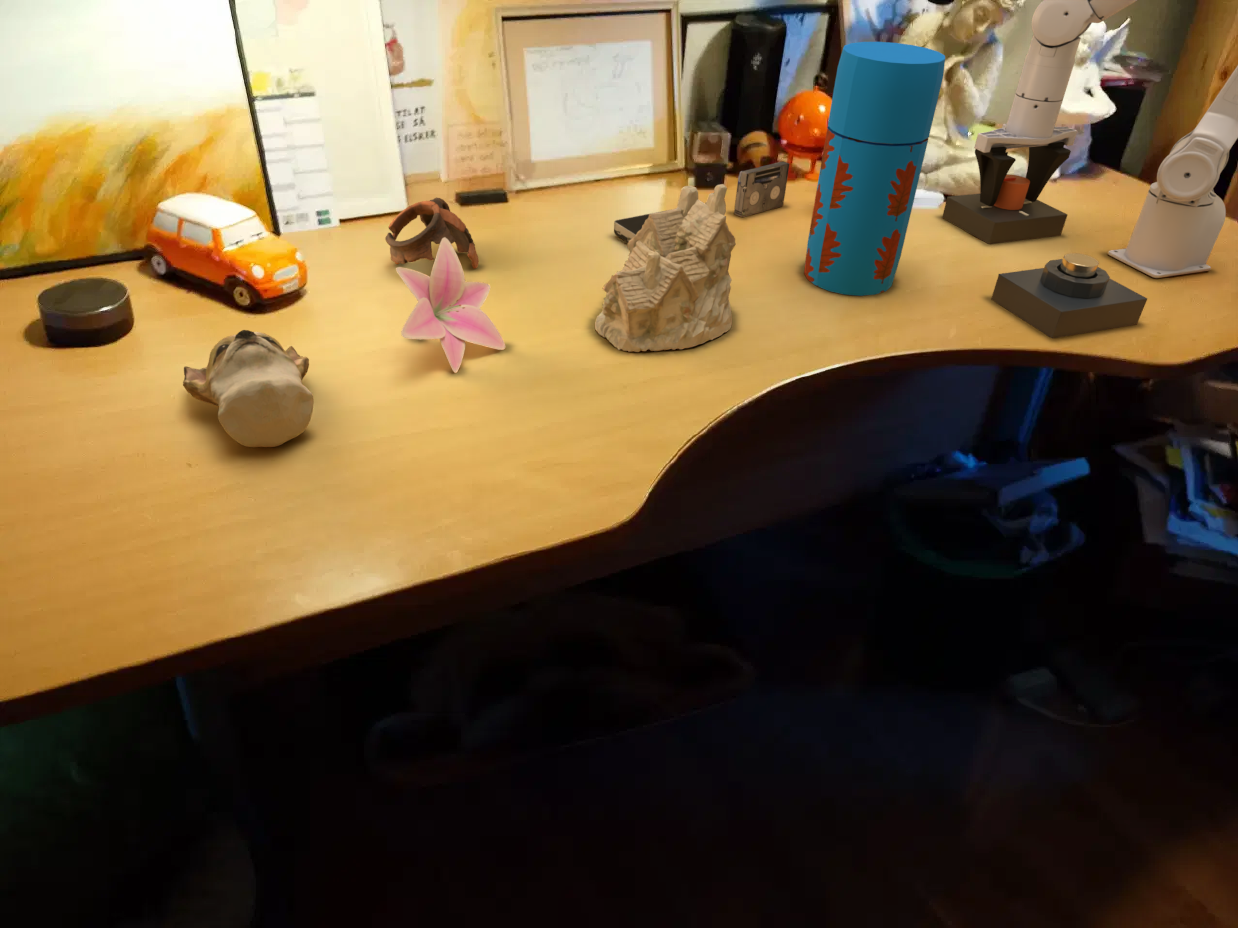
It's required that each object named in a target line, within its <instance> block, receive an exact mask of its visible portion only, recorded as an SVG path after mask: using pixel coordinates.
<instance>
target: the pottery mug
mask: <svg viewBox="0 0 1238 928" xmlns="http://www.w3.org/2000/svg"><path fill="white" fill-rule="evenodd" d="M418 216H419V219H420V222H421V223H422V224H424V226H425V228H424V229H423V230H422V231H421V232H419V233H418V234H416V235H414V236H413V237H410V238H407V239H405V240H397V238H398V236H399V234H400V233H401V232H402V230H403V229H404V228H406V226H408V224H410V223H411V222H412V221H414V220H416V219H418ZM388 230H389V231H390V232H387V235H385V238H384V240H385V242H386V243H387V245H388V246H389V255H390V260H391V261H392V262H394V264H396V265H400V264H401V265H406V264H408V263H414V262H417V261H419V260H423V259H425V260H428V261H432V262H433V261H435V259H434V256H433V249H432V243H434V244H435V245H440V242H441V240H442V238H444V237H445V238H447V239H448V240H449V242H450V243H451V245H452V244H454V243H455V246H456V251H457V252H458V253H461V254H462V253H465V254H467V258H468V259H469V260H470V264H471V266H472V268H473V269H475V270H476V269H477V268H478V266H479V261H480V260H479V255H478V253H477V249H476V244H475V242H474V240H473V237H472V234H471V233H470V231H469V228H467V225H466V224H465V223H464V221H462V219H461V218H460V217H459V216H458V215H457V214H456V213H454V212H452V211H451V209H450V206H449V204H448V203H447V202H446V201H445V200H444V199H442V198H441V197H433V199H430V200H422V201H418V202H415V203H412V204H411V205H409V206H407V207H406V208H404V209H403V210H401V211H400V212H399V213H398V214H397V215H396V216H395V217H394V218H393V219H392V220H391V222H390V223H389V226H388Z"/></svg>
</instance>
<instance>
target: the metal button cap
mask: <svg viewBox="0 0 1238 928" xmlns="http://www.w3.org/2000/svg"><path fill="white" fill-rule="evenodd" d="M1062 259H1063V260H1062V263H1061V266H1060V269H1059V271H1060V272H1062V273H1063V274H1065V275H1067V276H1071V277H1074V278H1081V279H1092V278H1094V275H1095V272H1096V270H1097V267H1099V265H1100V262H1099V261H1098V259H1096V258H1094V257H1093V256H1091V255H1088V254H1084V253H1077V252H1070V253H1066V254H1064V255H1063V256H1062Z"/></svg>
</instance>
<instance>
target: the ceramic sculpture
mask: <svg viewBox="0 0 1238 928" xmlns="http://www.w3.org/2000/svg"><path fill="white" fill-rule="evenodd" d="M309 368H310V358H309V357H308V356H302V355H300V354H299V353H298V352H297V351H296V349H295V347H293V345H290V346H289V347H287V349H284V347H283V346H282V344H281V343H280V341H278V340H277V339H276V338H275V337H273V336H271V335H269V334H267V333H265V332H260V331H252V330H249V329H242V330H240V331H238V332H237V333H236V334H232V335H228V336H225V337H222V338H221V339H220V340H219V341H217V343H216V344H215V345H214V346H213V347H212V348H211V350H210V353H209V357H208V362H207V365H206V366H205V367H202V368H194V367H190V366H184V367H183V375H184V379H183V380H182V386H183V388H184V389H185V391H186V392H187V393H188V394H189V395H191V397H193V398H194V399H195V400H199V401H201V402H204V403H208V404H211V405H213V406H216V407H218V412H217V419H218V422H219V424H220V426H222V428H223V430H224V431H225V433H227V435H228V436H230V438H231V439H233V440H234V441H235V442H236V443H238V444H240V445H241V446H244V447H247V448H258V447H260V448H275V447H279V446H282V445H283V444H284V443H287V442H289V441H290V440H292V439H294V438H296V437H298V436H300V435H301V434H303V433H304V432H305V431H306V429H307V427H308V425H309V424H310V422H311V418H312V415H313V411H314V395H313V392H312V391H310V390H309V389H308V387H307V386H305V385H304V384H303V381H302V380H303V379H304V378H305V376H306V375H307V373H308V371H309Z"/></svg>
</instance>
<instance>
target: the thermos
mask: <svg viewBox="0 0 1238 928" xmlns="http://www.w3.org/2000/svg"><path fill="white" fill-rule="evenodd" d="M945 63H946V55H945V54H944V53H941V52H940V51H937V50H935V49H932V48H928V47H923V46H918V45H915V44H908V43H901V42H900V43H898V42H891V41H890V42H888V41H859V42H858V41H857V42H850V43H848V44H845V45H844V46H843V48H842V51H841V54H840V57H839V61H838V65H837V69H836V75H835V81H834V87H833V92H832V99H831V103H830V110H829V116H828V121H827V127H826V128H827V129H826V132H825V138H824V140H825V141H824V145H823V151H822V155H821V163H820V168H819V174H818V180H817V187H816V191H815V196H814V197H815V198H814V202H813V207H812V208H813V209H812V215H811V221H810V228H809V232H808V238H807V245H806V254H805V260H804V261H805V263H804V272H803V274H804V276H805V277H806V279H807V281H809V282H810V283H812V284H813V285H814V286H816V287H817V288H821V289H823V290H826V291H828V292H831V293H836V294H841V295H844V296H858V297H863V296H874V295H878V294H882V293H885V292H888V290H889V289H890V288H892V287H893V284H894V280H895V277H896V273H897V270H898V267H899V263H900V260H901V257H902V253H903V249H904V248H903V247H904V244H905V240H906V235H907V231H908V227H909V223H910V218H911V214H912V210H913V205H914V202H915V197H916V193H917V188H918V184H919V180H920V176H921V172H922V169H923V163H924V159H925V156H926V151H927V147H928V142H929V138H930V135H931V130H932V126H933V121H934V117H935V113H936V109H937V104H938V100H939V96H940V92H941V87H942V84H943V80H944V72H945Z"/></svg>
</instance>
